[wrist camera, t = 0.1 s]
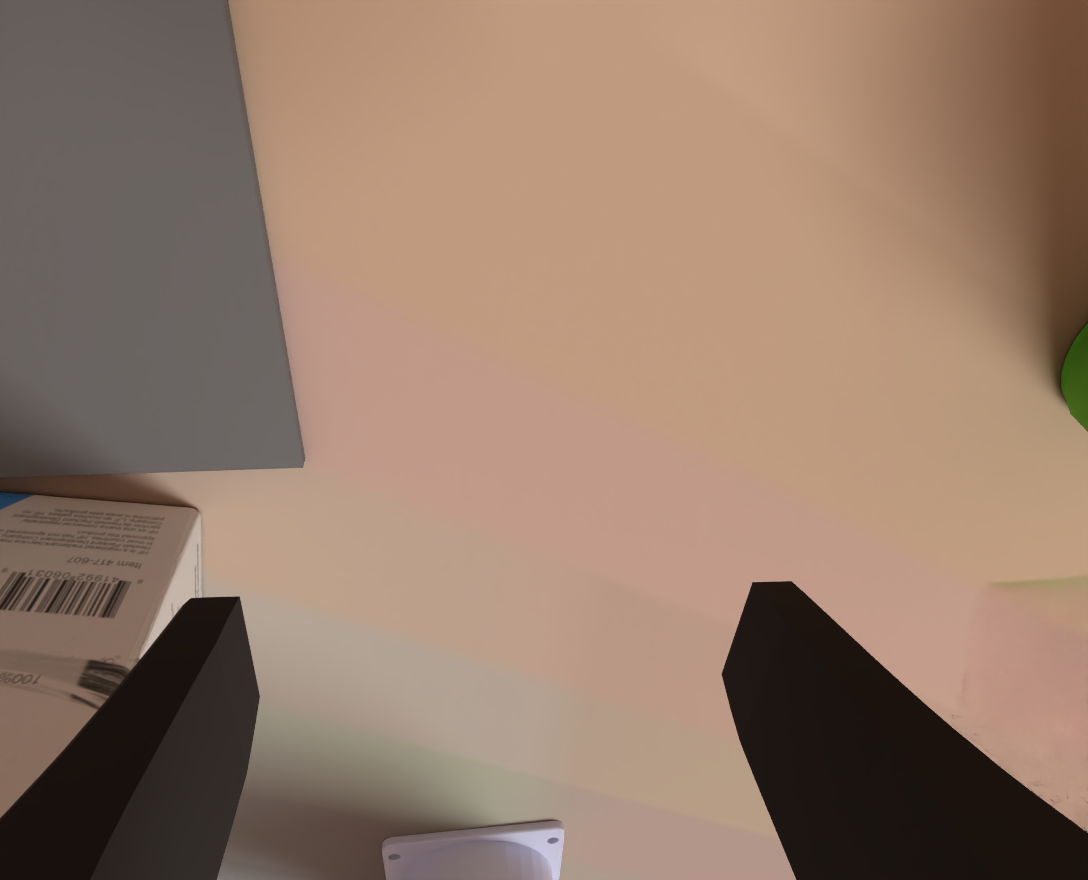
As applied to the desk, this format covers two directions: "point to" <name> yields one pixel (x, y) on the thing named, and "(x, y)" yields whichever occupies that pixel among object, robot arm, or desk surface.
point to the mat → (134, 248)
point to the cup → (1077, 378)
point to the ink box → (80, 613)
